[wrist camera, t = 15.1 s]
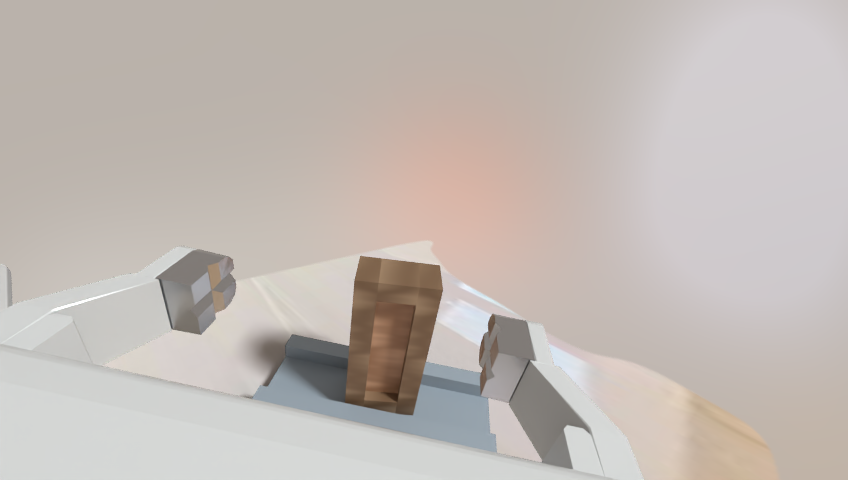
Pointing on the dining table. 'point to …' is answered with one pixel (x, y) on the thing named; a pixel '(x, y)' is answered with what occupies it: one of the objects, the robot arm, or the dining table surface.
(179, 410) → the robot arm
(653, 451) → the dining table surface
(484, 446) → the picture stand
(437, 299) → the frame
